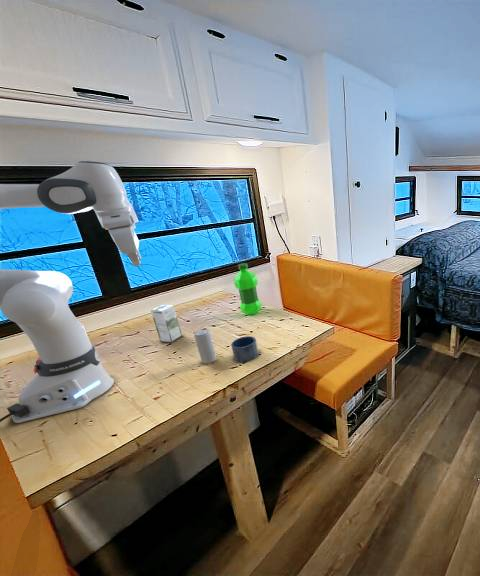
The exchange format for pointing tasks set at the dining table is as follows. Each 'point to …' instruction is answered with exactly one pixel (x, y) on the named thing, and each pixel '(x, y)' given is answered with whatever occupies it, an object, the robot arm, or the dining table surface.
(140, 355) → the dining table surface
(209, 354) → the beverage can
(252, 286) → the plastic bottle
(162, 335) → the syrup box
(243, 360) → the can holder
